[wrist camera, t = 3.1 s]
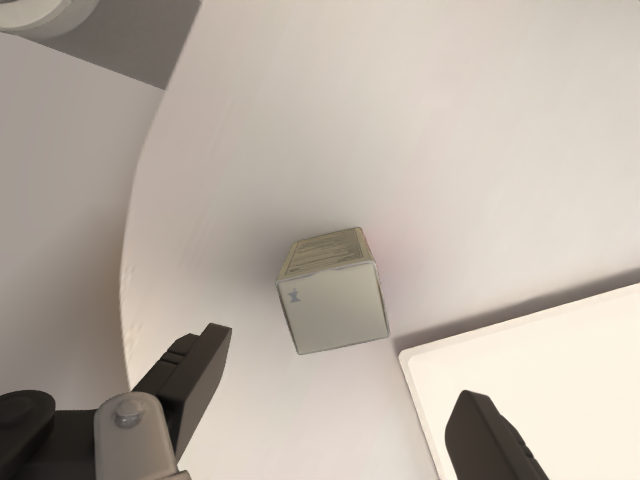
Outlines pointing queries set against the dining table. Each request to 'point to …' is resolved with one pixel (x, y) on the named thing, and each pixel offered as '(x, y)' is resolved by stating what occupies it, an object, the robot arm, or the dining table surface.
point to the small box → (332, 293)
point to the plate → (545, 384)
